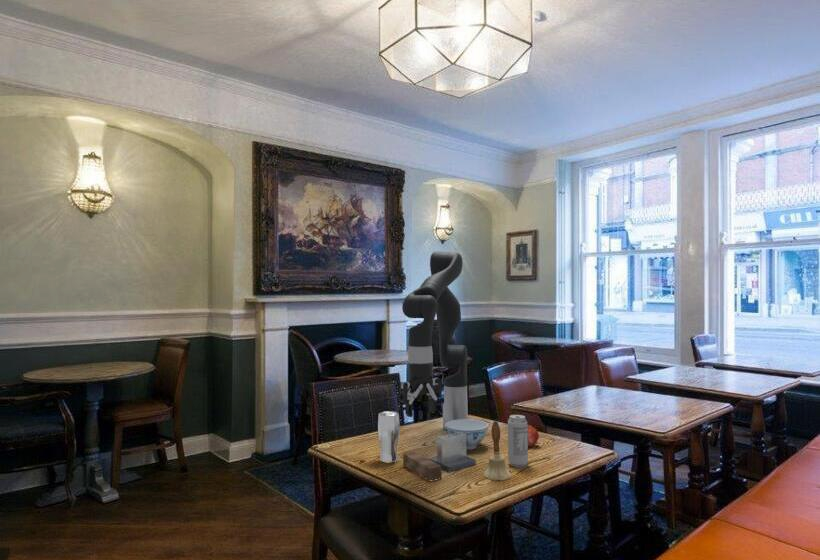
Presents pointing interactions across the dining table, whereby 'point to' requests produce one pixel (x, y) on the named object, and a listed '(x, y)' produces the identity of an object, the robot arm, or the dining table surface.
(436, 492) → the dining table surface
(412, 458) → the walnut plank
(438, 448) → the stand
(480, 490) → the dining table surface
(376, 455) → the dining table surface
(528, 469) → the dining table surface
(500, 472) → the hand bell
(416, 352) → the robot arm
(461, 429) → the chinaware
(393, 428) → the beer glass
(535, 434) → the pomegranate
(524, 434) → the energy drink can
